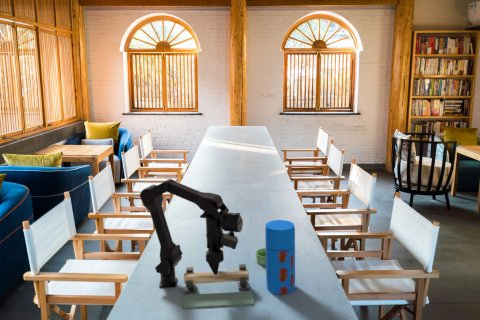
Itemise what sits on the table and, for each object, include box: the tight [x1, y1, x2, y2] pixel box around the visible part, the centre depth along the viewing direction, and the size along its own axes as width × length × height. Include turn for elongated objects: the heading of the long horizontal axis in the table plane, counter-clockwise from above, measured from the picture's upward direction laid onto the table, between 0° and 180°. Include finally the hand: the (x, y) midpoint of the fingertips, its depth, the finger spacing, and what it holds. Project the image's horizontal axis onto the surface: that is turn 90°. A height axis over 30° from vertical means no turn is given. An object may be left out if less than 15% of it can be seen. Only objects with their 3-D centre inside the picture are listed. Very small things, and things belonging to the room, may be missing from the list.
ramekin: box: [255, 247, 266, 267], centre depth 192 cm, size 9×9×4 cm
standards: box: [184, 263, 250, 294], centre depth 170 cm, size 7×24×8 cm, turn 93°
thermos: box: [264, 219, 296, 295], centre depth 168 cm, size 11×11×25 cm
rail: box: [183, 269, 250, 285], centre depth 169 cm, size 3×24×3 cm, turn 93°
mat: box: [182, 290, 255, 310], centre depth 163 cm, size 8×25×1 cm, turn 93°
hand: (215, 268), depth 168 cm, fingers open, 9 cm apart
